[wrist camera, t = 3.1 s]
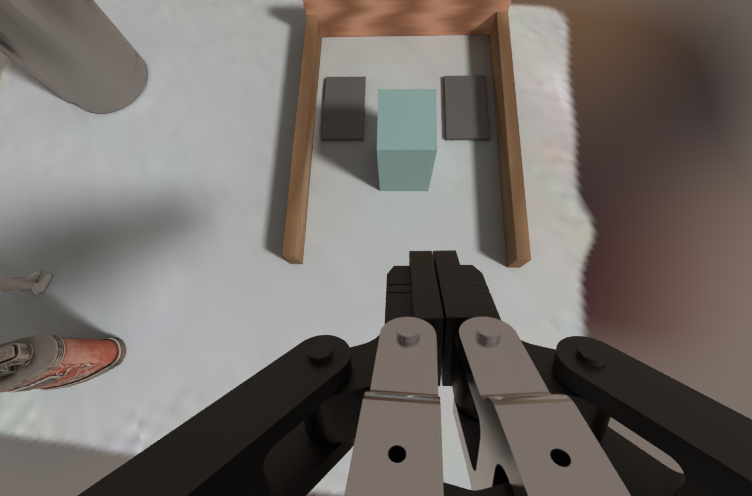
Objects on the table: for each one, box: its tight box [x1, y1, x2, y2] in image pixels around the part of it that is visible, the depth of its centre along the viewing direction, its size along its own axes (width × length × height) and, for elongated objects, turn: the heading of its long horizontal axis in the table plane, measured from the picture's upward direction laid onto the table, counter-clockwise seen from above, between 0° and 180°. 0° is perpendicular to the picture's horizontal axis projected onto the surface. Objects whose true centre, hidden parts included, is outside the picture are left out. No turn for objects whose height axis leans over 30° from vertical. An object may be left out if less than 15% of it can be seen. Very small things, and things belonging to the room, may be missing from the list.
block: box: [377, 89, 437, 191], centre depth 35 cm, size 5×6×8 cm
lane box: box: [282, 0, 531, 268], centre depth 37 cm, size 22×29×6 cm
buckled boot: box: [0, 335, 127, 392], centre depth 29 cm, size 8×3×10 cm, turn 111°
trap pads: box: [322, 76, 489, 140], centre depth 40 cm, size 18×8×1 cm, turn 89°
